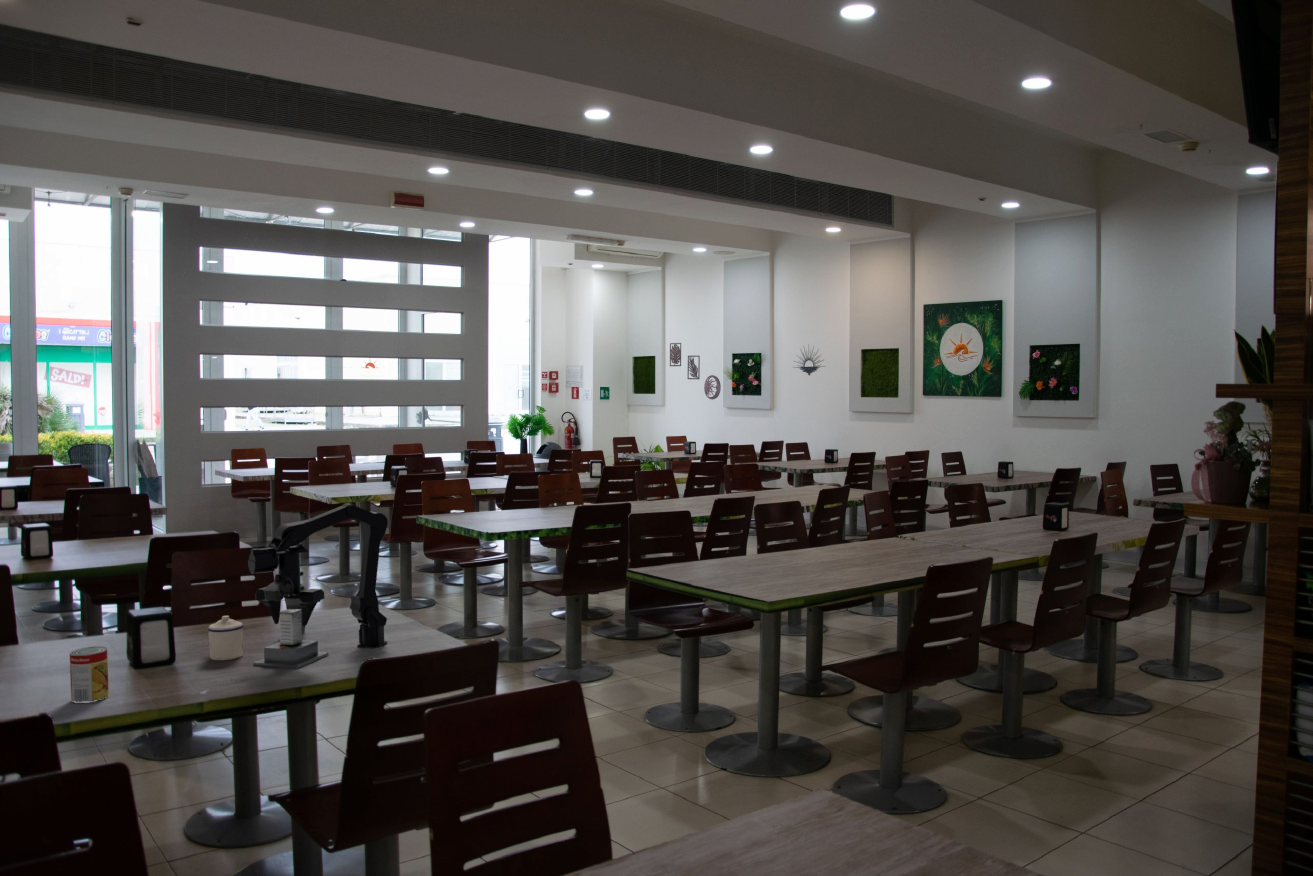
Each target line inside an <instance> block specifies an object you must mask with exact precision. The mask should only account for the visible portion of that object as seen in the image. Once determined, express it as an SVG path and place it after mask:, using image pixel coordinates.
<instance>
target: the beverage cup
mask: <svg viewBox="0 0 1313 876" xmlns="http://www.w3.org/2000/svg"><path fill="white" fill-rule="evenodd" d="M301 586H304V590H301V591H305V590H308V589H307V587H306V586H305V585H304V584H302V583H301ZM292 595H295V594H292ZM283 599H284V603H285V607H286V608H285V610H287V609H297V610H301V627H302V634H304V633H305V631H306V626H303V622H302V607H301V606H300V604H299V603H302V601H301V600H300V598H288V597H283Z"/></svg>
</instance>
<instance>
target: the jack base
mask: <svg viewBox="0 0 1313 876" xmlns="http://www.w3.org/2000/svg"><path fill="white" fill-rule="evenodd" d="M263 654H264V655H263V658H261V659H258V660H256V661H253V663H252V664H253V665H252V666H260V667H270V668H283V669H296V670H297V669H300V668H302V667H304V666H307V665H309V664H311V663H313V662H317V661H319V660H320V659H323V658H326V657H328V656H329V652H325V651H319V645H318V640H310V639H309V640H307V639H302V642H299V643H297V644H294V645H285V644H280V641H279V642H275V643H273V644H270V645H268V646H265V647H263Z"/></svg>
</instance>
